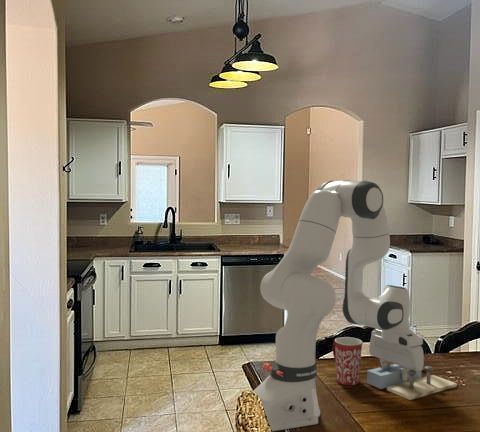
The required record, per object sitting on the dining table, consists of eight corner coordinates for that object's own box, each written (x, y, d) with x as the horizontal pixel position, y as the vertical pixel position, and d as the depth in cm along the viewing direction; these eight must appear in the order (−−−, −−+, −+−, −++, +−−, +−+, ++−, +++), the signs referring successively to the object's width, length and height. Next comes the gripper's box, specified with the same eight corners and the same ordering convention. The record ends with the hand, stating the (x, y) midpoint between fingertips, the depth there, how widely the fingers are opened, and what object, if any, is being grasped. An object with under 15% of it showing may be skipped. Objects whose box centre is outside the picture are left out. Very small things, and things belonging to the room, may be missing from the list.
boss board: (409, 400, 151) (410, 379, 151) (386, 390, 159) (387, 370, 158) (456, 386, 162) (457, 367, 162) (433, 377, 170) (433, 359, 170)
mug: (367, 384, 163) (368, 343, 163) (343, 388, 160) (343, 345, 160) (346, 372, 175) (347, 333, 175) (323, 374, 172) (323, 335, 172)
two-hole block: (380, 389, 159) (381, 375, 159) (366, 383, 165) (367, 370, 164) (421, 378, 169) (421, 366, 169) (406, 373, 174) (407, 361, 174)
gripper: (365, 328, 174) (364, 368, 174) (413, 343, 156) (412, 387, 157) (378, 326, 177) (377, 365, 177) (427, 340, 159) (426, 384, 160)
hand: (394, 376), depth 167 cm, fingers closed on two-hole block, 6 cm apart
